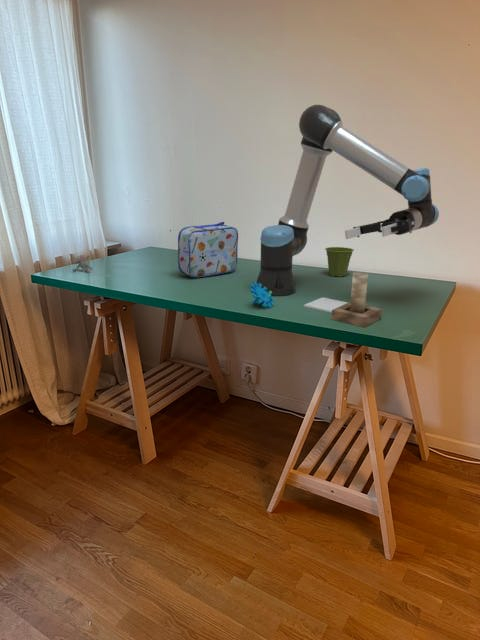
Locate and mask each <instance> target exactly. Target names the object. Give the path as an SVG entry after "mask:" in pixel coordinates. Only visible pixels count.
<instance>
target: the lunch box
mask: <svg viewBox="0 0 480 640" xmlns="http://www.w3.org/2000/svg"><path fill="white" fill-rule="evenodd" d="M177 235H178V236H177V237H178V238H177V264H178V267H177V268H178V270H179V271H180V273H182V274H184V275H188V276H190V277H192V278H203V277H211V276H217V275H221V274H227V273H232V272H234V271H235V270H236V268H237V266H238V265H237V264H238V256H239V255H238V247H239V246H238V245H239V241H238V240H239V232H238V229H237V228H236V227H234V226H230V225H227V224H225V221H221V222H218V223H215V224H205V225H193V226H192V225H191V226H186V227H183V228H182V229H180V231H179V232H178V234H177Z"/></svg>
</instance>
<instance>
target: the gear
mask: <svg viewBox="0 0 480 640" xmlns="http://www.w3.org/2000/svg"><path fill="white" fill-rule="evenodd" d="M256 282H257V281H256ZM256 282H253V283H252V284H251V285H250V286H249V287H250V290H249V292H250V293H251V294H253V295H251V296H252V298H253V299H254V300H252V302H251V305H255V304H256V303H257V304H258V305H262V307H263V308H266V307H267V308H268V309H270V308H272V306H274V304H275V303H274V300H275V298H274V297H272V295H271V293H272V291H269V292H266V290H267V288H266V287H264V288H263V289H262V288H261V286H262V284H260V283H259V284H258V287H257V283H256ZM261 303H262V304H261Z"/></svg>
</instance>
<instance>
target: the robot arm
mask: <svg viewBox="0 0 480 640" xmlns="http://www.w3.org/2000/svg"><path fill="white" fill-rule="evenodd" d="M298 126H299V127H298V128H299V132H300V134H301V136H302V138H301V141H300V146H301V148H302V154H301V157H300V160H299V164H298V168H297V171H296V175H295V178H294V181H293V186H292V189H291V193H290V196H289V199H288V202H287V203H288V204H287V206H286V210H285V213H284V215H283V216H281V217H279V219H278V222H277V223H278V224H274V225H267V226H266V227H264V228H263V229H262V231H261V234H260V235H261V236H260V268H259V269H260V271H259V273H258V276H257V278H256V283H257V287H258V284H259V283H260V284H262V286H261V288H262V289H263V288H264V287H266V288H267V290H266V292H269V291H272V293H271V296H275V297H276V296H278V297H279V296H289V295H292V294H294V293H296V292H297V291H296V290H297V284H296V281H295V277H294V273H293V257H294V256H297V255H299V254H300V253H302V251H303V250H304V249H305V247H306V245H307V242H308V231H309V227H310V225H309V223H308V222H307V220H308V218H309V215H310V211H311V207H312V204H313V201H314V198H315V194H316V190H317V188H318V184H319V181H320V178H321V176H322V171H323V169H324V165H325V162H326V159H327V157H328V156H330V155H331V154H332V153H333V152H334V153H335V154H338V155H339V156H340V157H342V158H344V159H345V160H346V161H349V162H350V163H352V164H354V166H356V167H358V168H360V169H361V170H363V171H364V172H366V173H367V174H369V175H370V176H372V177H373V178H375V179H376V180H378V181H380V182H382V183H383V184H384V185H386V186H388V187H389V188H390V189H392V190H394V191H395V192H396V193H397V194H400V195H401V196H403V198H404V199H405V200H407V205H408V207H407V208H404V209H402V210H398V211H395V212H393V213H392V214H391V215H390V216H389V218H387V219H384V220H382V221H381V220H380V221H377V222H373V223H368V224H363V225H359V226H353V227H352V228H349V229H346V230H344V235H345V236H344V237H345V239H346V240H350V239H352V238H356V237H357V238H360V236H361V235H365V234H371V233H377V232H378V233H381V236H382V237H383V238H384V237H388V236H390V235H397V236H401V235H404V234H408V233H409V234H413V231H417V230H419V229H424V228H428V227H431V226H432V225H434V224H435V223H436V222H437V221H438V219H439V215H440V212H439V209H438V206H436V205H435V204H433V199H432V187H431V186H432V185H431V174H430V173H431V172H430V169H429V168H428V167H423V168H416V169H410V167H408V166H406V165H405V164H403V163H401V162H400V161H398V160H397V159H395V158H393V157H392V156H390V155H389V154H387V153H385V152H384V151H383V150H381V149H379V148H378V147H377V146H374V145H373V144H372V143H370V142H368V141H367V140H365V139H364V138H362V137H360V136H359V135H357V134H355V133H354V132H353V131H351V130H349V129H348V128H347V127H345V126H344V125H343V121H342V118H341V117H340V115H339V113H338V112H337V111H336V110H335V109H333V108H331V107H328V106H326V105H323V104H313V105H311V106H308V107H306V108H305V110H304V111H303V112H302V113H301V116H300V118H299V122H298Z"/></svg>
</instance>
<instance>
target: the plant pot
mask: <svg viewBox="0 0 480 640" xmlns="http://www.w3.org/2000/svg"><path fill="white" fill-rule="evenodd" d="M324 250H325V251H326V257H327V267H328V275H329V276H331V277H338V278H341V277H342V276H344V277H345V276H346V275H347V273H348V270H349V269H348V268H349V265H350V260H351V257H352V255H353V252H354V249H353V248H350V247H343V246H329V247H326V248H324Z"/></svg>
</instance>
